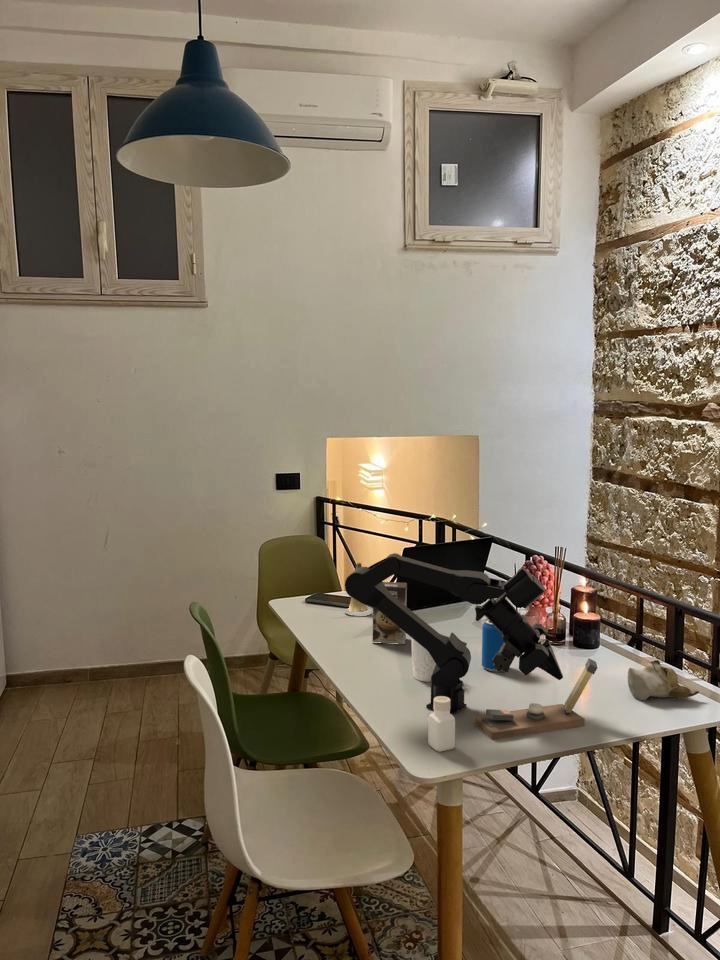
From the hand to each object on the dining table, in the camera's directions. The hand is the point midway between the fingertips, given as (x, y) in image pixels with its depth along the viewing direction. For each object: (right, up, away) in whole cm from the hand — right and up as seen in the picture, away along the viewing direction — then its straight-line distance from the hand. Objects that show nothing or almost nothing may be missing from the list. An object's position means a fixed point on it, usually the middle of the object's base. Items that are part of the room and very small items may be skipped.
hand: (561, 678), depth 154 cm
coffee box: (-34, -4, +51) cm, 61 cm away
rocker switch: (-14, -7, -5) cm, 16 cm away
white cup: (-26, -6, +24) cm, 36 cm away
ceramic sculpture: (+25, -8, +13) cm, 29 cm away
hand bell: (-42, -1, +79) cm, 90 cm away
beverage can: (-8, -6, +30) cm, 32 cm away
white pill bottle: (-26, -10, -12) cm, 31 cm away
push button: (-6, -7, -2) cm, 9 cm away
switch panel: (-7, -9, -2) cm, 12 cm away
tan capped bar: (+1, -7, 0) cm, 7 cm away
